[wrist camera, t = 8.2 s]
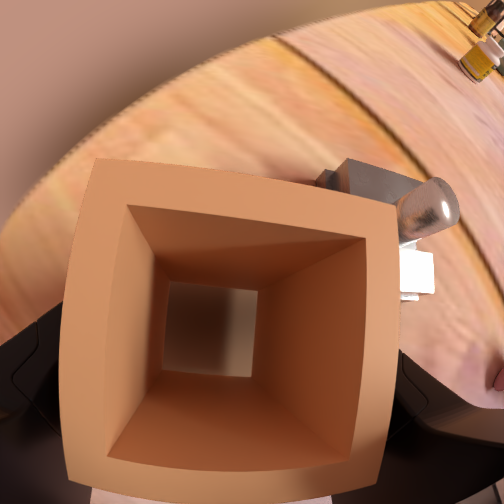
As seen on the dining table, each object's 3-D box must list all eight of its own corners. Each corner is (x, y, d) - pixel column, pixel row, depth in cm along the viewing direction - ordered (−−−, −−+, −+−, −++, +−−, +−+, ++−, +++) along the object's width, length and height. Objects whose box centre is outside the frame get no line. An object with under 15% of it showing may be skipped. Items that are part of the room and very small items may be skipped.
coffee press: (476, 24, 59) (509, -11, 30) (469, 13, 63) (497, -19, 35) (502, 49, 60) (535, 17, 32) (493, 36, 65) (523, 7, 36)
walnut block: (279, 416, 14) (294, 431, 12) (120, 403, 13) (108, 416, 11) (292, 247, 17) (308, 235, 15) (137, 227, 15) (129, 211, 13)
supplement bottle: (476, 87, 31) (509, 59, 22) (455, 64, 31) (485, 33, 22) (479, 81, 33) (508, 54, 23) (459, 59, 33) (486, 31, 23)
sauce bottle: (468, 25, 50) (496, -4, 31) (481, 38, 49) (510, 9, 30) (466, 26, 48) (495, -6, 29) (479, 39, 47) (509, 8, 28)
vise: (403, 302, 18) (490, 287, 11) (314, 296, 16) (394, 277, 9) (398, 200, 20) (467, 155, 12) (316, 179, 18) (375, 111, 11)
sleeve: (266, 393, 11) (375, 483, 3) (144, 383, 10) (68, 479, 3) (275, 276, 12) (395, 205, 5) (155, 262, 11) (96, 158, 4)
